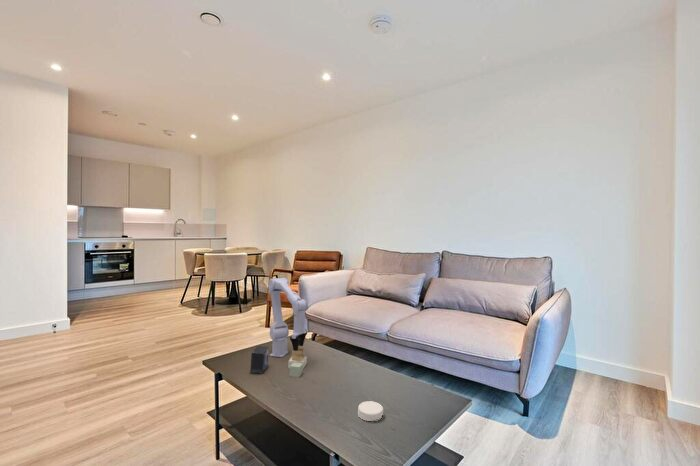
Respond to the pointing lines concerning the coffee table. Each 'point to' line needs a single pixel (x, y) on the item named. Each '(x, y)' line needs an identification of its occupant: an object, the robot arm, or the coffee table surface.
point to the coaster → (370, 410)
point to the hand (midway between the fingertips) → (298, 348)
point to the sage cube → (296, 369)
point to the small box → (259, 359)
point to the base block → (297, 362)
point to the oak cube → (298, 354)
